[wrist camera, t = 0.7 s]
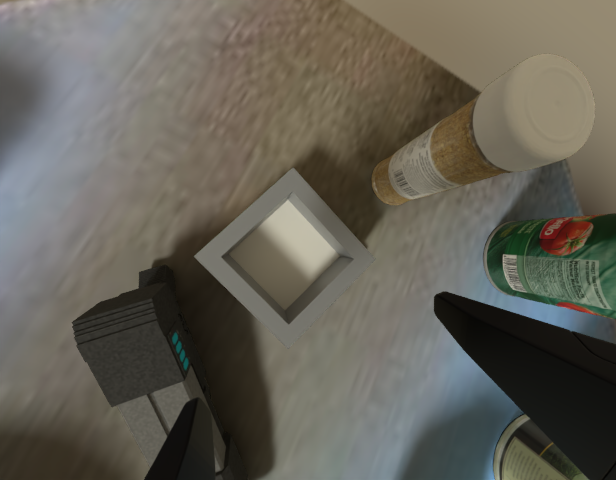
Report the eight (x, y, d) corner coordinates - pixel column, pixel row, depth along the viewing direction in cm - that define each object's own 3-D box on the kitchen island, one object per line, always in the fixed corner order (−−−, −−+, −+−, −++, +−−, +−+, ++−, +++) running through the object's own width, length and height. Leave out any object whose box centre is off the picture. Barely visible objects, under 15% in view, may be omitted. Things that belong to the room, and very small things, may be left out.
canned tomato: (515, 205, 26) (698, 179, 15) (557, 258, 26) (759, 270, 16) (468, 258, 25) (627, 273, 14) (514, 311, 26) (697, 364, 15)
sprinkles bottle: (420, 194, 24) (615, 137, 10) (380, 213, 23) (536, 176, 10) (402, 150, 23) (580, 34, 10) (361, 168, 23) (495, 67, 9)
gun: (182, 251, 20) (133, 335, 11) (252, 409, 27) (258, 537, 18) (123, 268, 19) (16, 372, 10) (212, 425, 27) (196, 567, 17)
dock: (361, 255, 23) (384, 259, 18) (283, 334, 21) (287, 359, 17) (287, 174, 22) (293, 157, 17) (200, 252, 20) (182, 256, 16)
